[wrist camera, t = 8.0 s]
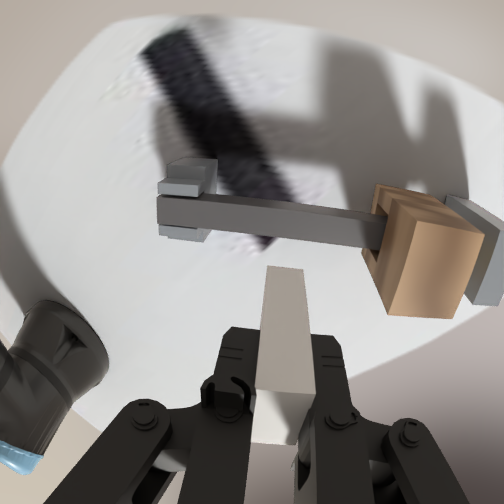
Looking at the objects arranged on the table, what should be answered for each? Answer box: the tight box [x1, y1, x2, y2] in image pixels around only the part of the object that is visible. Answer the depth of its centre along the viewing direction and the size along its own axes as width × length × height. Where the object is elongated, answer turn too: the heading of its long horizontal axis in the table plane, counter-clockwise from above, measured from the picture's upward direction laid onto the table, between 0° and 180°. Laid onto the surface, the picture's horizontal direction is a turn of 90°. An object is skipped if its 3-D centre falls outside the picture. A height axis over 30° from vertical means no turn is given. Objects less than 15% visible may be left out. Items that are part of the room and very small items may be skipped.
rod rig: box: [157, 157, 504, 306], centre depth 22 cm, size 27×6×9 cm, turn 86°
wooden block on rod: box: [361, 184, 485, 319], centre depth 19 cm, size 5×6×9 cm
